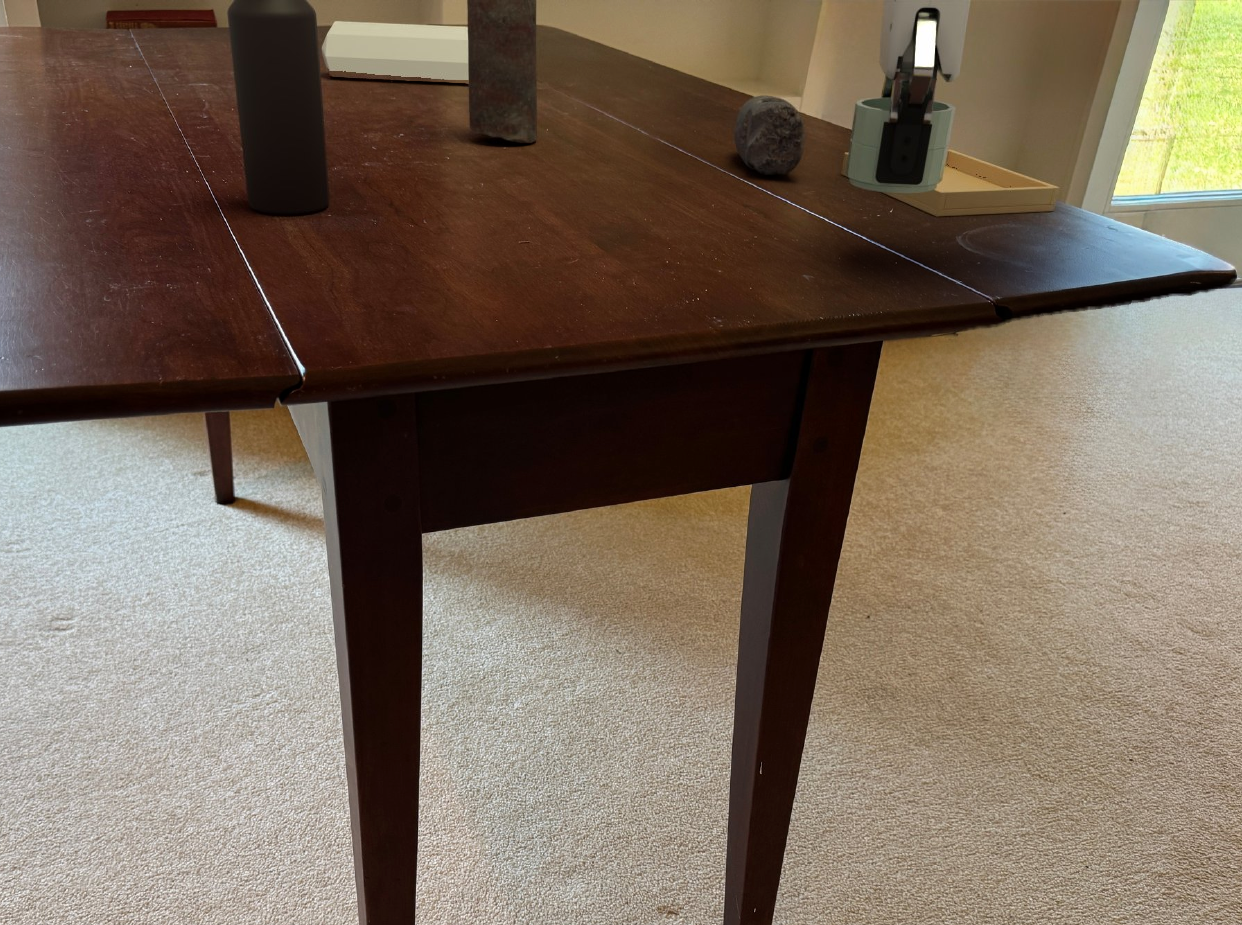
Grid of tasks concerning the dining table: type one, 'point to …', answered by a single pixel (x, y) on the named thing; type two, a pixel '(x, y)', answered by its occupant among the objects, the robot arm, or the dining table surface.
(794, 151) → the perforated stone tool
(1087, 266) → the dining table surface
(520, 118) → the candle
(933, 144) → the mint green planter pot
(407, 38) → the white chamfered bar
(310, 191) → the bottle
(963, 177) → the serving tray
